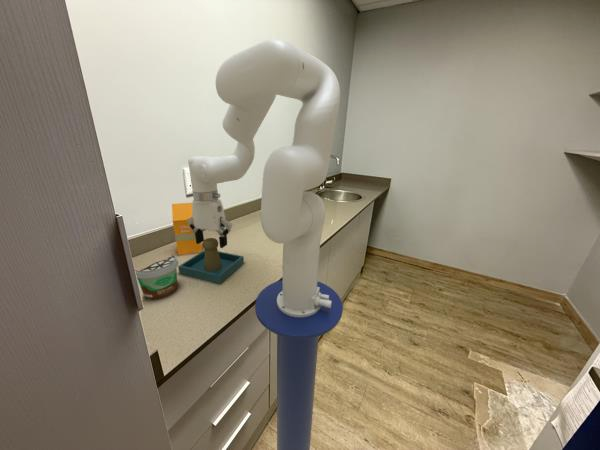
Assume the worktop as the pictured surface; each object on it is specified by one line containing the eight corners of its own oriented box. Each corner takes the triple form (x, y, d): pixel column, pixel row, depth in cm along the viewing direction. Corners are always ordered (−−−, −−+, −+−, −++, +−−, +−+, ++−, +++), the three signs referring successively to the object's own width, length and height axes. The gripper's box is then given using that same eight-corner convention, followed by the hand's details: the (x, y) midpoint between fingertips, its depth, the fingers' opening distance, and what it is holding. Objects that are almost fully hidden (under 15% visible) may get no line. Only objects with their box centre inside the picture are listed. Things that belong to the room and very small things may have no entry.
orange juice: (180, 246, 103) (172, 201, 96) (202, 244, 106) (196, 200, 99) (177, 255, 96) (170, 206, 89) (201, 252, 99) (195, 205, 92)
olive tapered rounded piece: (225, 266, 88) (222, 238, 84) (211, 273, 83) (208, 244, 80) (214, 261, 91) (211, 234, 87) (200, 268, 86) (196, 240, 83)
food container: (152, 307, 67) (145, 276, 64) (139, 300, 70) (132, 270, 66) (190, 285, 77) (186, 257, 74) (178, 279, 80) (173, 252, 77)
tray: (243, 263, 92) (243, 256, 91) (220, 284, 79) (219, 276, 78) (207, 255, 96) (206, 248, 95) (179, 273, 83) (178, 266, 82)
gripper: (235, 195, 79) (239, 243, 85) (192, 191, 84) (198, 237, 90) (221, 200, 72) (226, 252, 78) (175, 196, 77) (183, 245, 83)
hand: (211, 244), depth 84 cm, fingers open, 9 cm apart
